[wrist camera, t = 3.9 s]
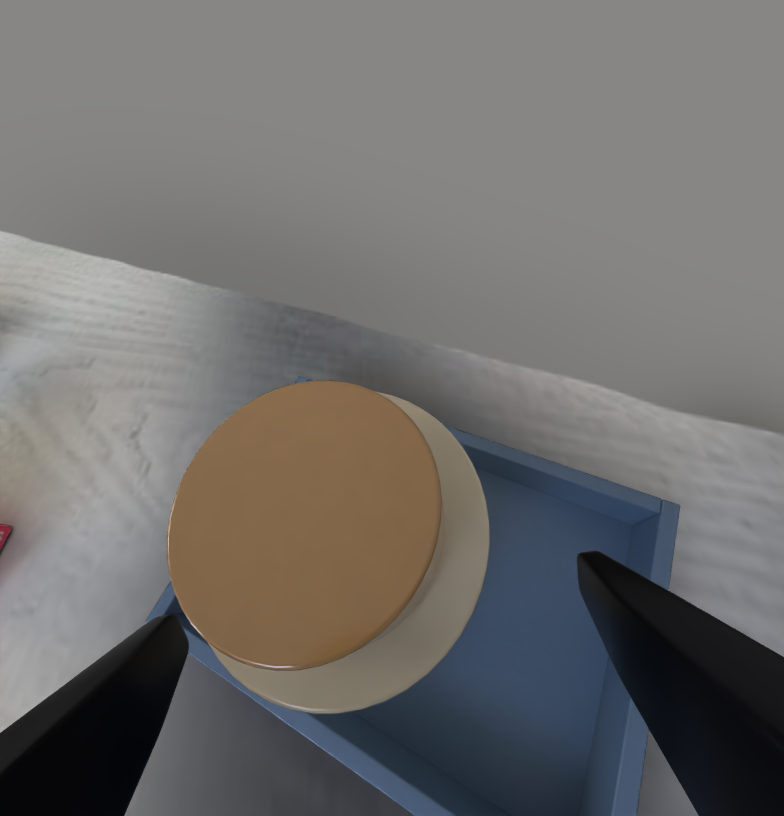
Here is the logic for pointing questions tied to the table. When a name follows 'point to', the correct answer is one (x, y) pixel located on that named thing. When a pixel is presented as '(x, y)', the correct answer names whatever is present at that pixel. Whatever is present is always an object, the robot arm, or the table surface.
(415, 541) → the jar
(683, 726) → the robot arm
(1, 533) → the ink box
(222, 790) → the table surface
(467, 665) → the tray
